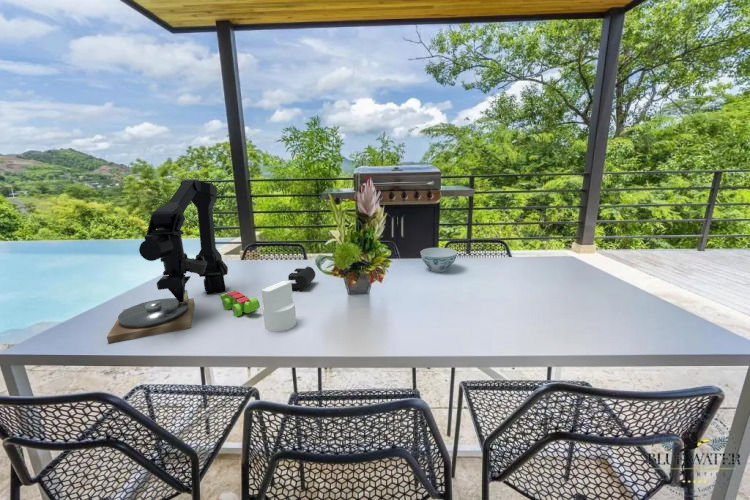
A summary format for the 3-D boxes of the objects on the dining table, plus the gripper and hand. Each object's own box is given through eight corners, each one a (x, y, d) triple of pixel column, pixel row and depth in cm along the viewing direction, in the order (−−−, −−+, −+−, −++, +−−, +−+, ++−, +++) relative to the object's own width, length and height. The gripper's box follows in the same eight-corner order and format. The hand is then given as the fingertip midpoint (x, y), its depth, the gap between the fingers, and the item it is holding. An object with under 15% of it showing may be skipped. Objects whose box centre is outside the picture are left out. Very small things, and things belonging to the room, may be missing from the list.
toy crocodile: (217, 304, 119) (214, 287, 117) (236, 298, 123) (234, 282, 122) (243, 322, 105) (241, 303, 104) (264, 314, 110) (262, 296, 108)
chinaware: (460, 274, 141) (460, 256, 139) (422, 275, 141) (422, 257, 139) (452, 264, 155) (453, 247, 153) (418, 264, 156) (418, 248, 154)
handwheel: (188, 297, 119) (185, 282, 117) (192, 317, 104) (189, 299, 102) (121, 311, 110) (118, 294, 108) (116, 334, 95) (111, 315, 93)
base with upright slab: (280, 334, 97) (275, 293, 94) (258, 327, 101) (253, 288, 98) (302, 321, 104) (299, 283, 101) (281, 315, 109) (277, 278, 106)
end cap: (307, 292, 127) (306, 274, 126) (289, 291, 128) (287, 274, 127) (316, 282, 137) (315, 266, 135) (298, 282, 138) (297, 266, 136)
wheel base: (194, 303, 120) (193, 297, 119) (191, 327, 102) (190, 320, 102) (124, 315, 112) (123, 308, 112) (108, 343, 95) (106, 336, 94)
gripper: (197, 256, 97) (205, 309, 101) (207, 243, 115) (214, 289, 118) (151, 260, 94) (161, 315, 98) (169, 247, 112) (177, 293, 115)
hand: (181, 302), depth 107 cm, fingers closed
